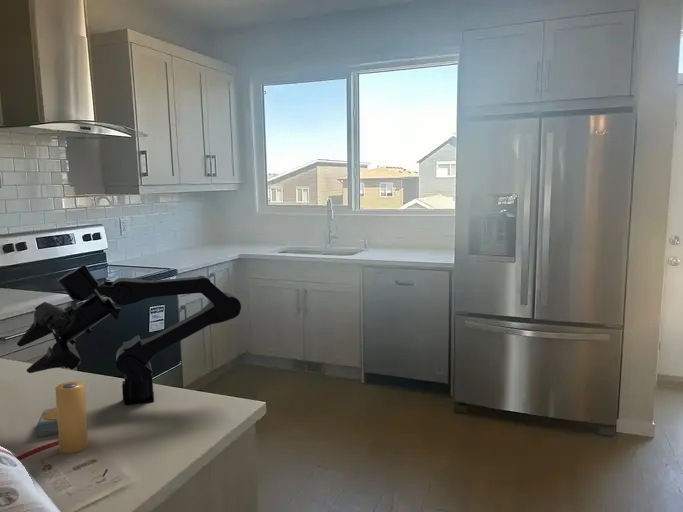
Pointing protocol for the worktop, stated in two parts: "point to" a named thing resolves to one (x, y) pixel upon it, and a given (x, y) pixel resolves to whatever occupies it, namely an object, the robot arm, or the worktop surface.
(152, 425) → the worktop surface
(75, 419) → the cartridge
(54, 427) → the unit
